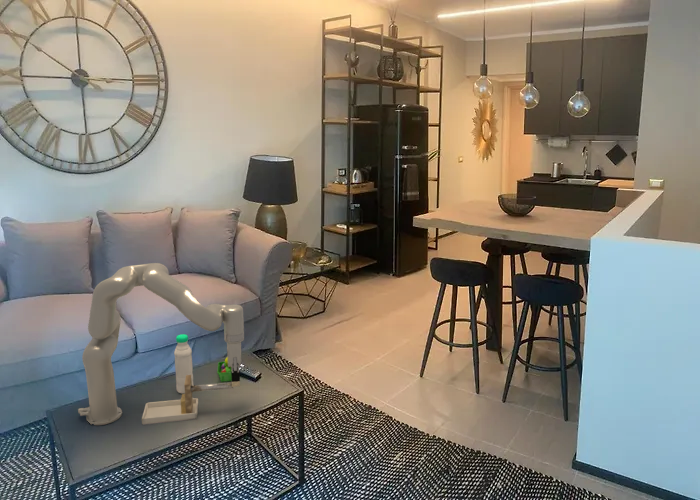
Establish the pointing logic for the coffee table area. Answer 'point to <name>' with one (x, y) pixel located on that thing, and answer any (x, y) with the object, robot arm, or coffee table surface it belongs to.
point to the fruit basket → (224, 371)
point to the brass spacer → (183, 404)
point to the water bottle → (182, 362)
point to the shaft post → (188, 394)
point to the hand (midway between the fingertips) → (235, 378)
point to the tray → (167, 412)
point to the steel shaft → (215, 386)
